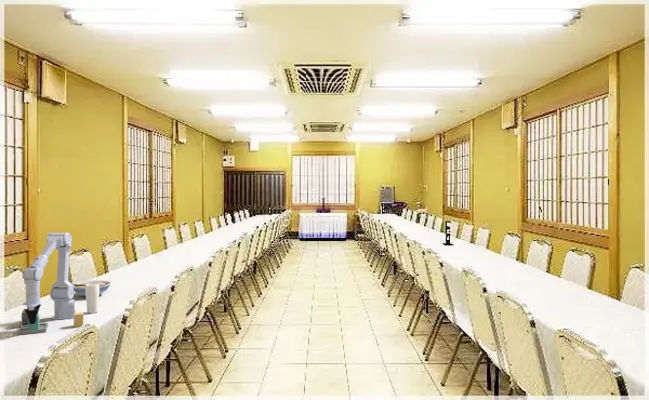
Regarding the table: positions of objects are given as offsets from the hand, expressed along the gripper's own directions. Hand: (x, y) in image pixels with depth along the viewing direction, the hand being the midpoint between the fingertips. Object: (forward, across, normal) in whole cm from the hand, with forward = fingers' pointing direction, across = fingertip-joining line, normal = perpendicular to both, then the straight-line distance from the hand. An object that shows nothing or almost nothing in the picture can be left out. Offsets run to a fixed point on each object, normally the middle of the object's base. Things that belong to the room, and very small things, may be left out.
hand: (33, 322), depth 231 cm
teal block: (+3, 0, 0) cm, 3 cm away
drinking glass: (+4, -25, +25) cm, 36 cm away
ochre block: (+4, 0, +19) cm, 19 cm away
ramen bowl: (+4, -69, +24) cm, 73 cm away
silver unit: (+4, -12, -3) cm, 13 cm away
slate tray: (+4, 0, 0) cm, 4 cm away
